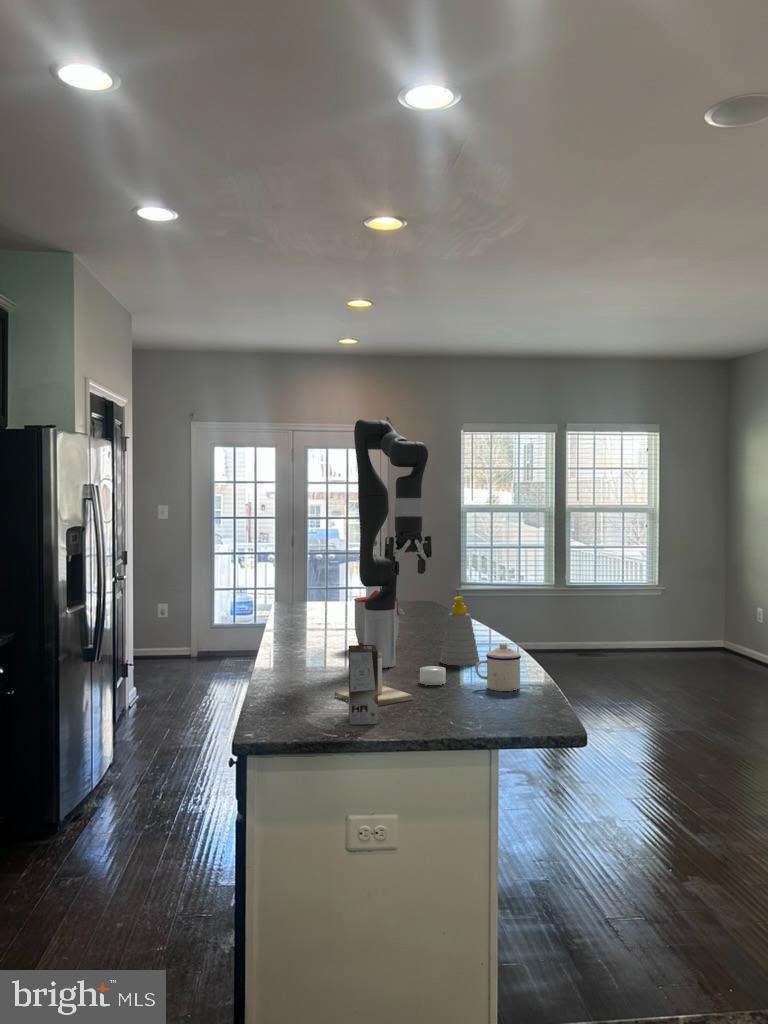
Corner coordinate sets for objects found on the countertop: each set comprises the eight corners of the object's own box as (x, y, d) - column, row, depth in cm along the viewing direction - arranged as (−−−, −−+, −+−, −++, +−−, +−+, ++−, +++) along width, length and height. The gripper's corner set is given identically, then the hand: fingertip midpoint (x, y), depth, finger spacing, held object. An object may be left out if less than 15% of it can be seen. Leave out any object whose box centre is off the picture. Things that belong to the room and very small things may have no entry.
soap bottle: (434, 664, 236) (433, 597, 236) (446, 657, 247) (446, 593, 248) (473, 667, 231) (473, 599, 231) (484, 660, 243) (484, 595, 243)
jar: (359, 693, 193) (359, 653, 193) (375, 690, 196) (375, 651, 196) (370, 696, 189) (370, 656, 189) (386, 694, 192) (386, 653, 192)
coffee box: (378, 724, 169) (378, 651, 169) (349, 725, 168) (349, 651, 168) (375, 713, 178) (375, 644, 178) (348, 714, 178) (347, 644, 178)
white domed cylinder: (415, 682, 212) (414, 667, 212) (436, 679, 215) (436, 665, 215) (429, 687, 205) (429, 672, 206) (450, 684, 209) (450, 669, 209)
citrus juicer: (405, 652, 257) (404, 592, 257) (352, 652, 257) (352, 592, 257) (404, 644, 272) (404, 587, 272) (355, 644, 272) (354, 587, 273)
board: (334, 696, 195) (334, 692, 195) (380, 689, 203) (380, 684, 203) (365, 708, 183) (365, 703, 183) (412, 699, 191) (412, 694, 191)
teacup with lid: (518, 684, 208) (517, 641, 208) (523, 692, 199) (523, 646, 199) (473, 684, 208) (473, 641, 208) (477, 692, 199) (477, 647, 199)
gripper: (421, 514, 217) (420, 572, 217) (379, 514, 209) (379, 574, 209) (437, 514, 211) (437, 574, 211) (395, 515, 203) (394, 577, 203)
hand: (408, 574), depth 210 cm, fingers open, 8 cm apart
